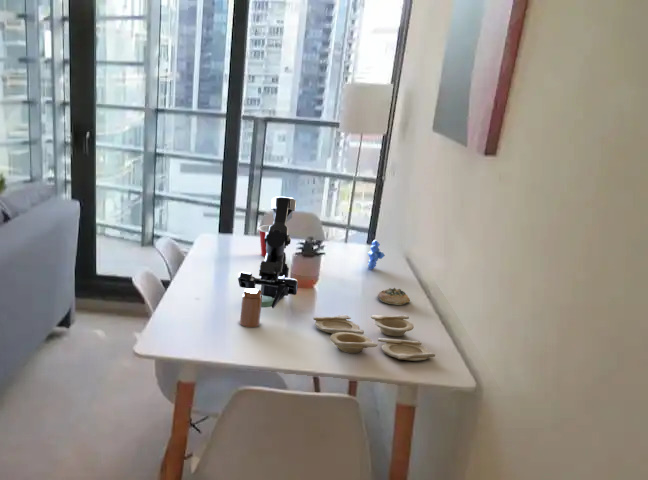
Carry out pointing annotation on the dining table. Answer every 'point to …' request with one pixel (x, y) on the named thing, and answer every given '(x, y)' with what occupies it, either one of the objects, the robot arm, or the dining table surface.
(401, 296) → the bread roll
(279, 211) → the robot arm
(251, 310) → the jar
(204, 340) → the dining table surface
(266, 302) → the lid
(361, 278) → the dining table surface
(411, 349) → the tableware set
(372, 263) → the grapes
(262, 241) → the plastic cup
